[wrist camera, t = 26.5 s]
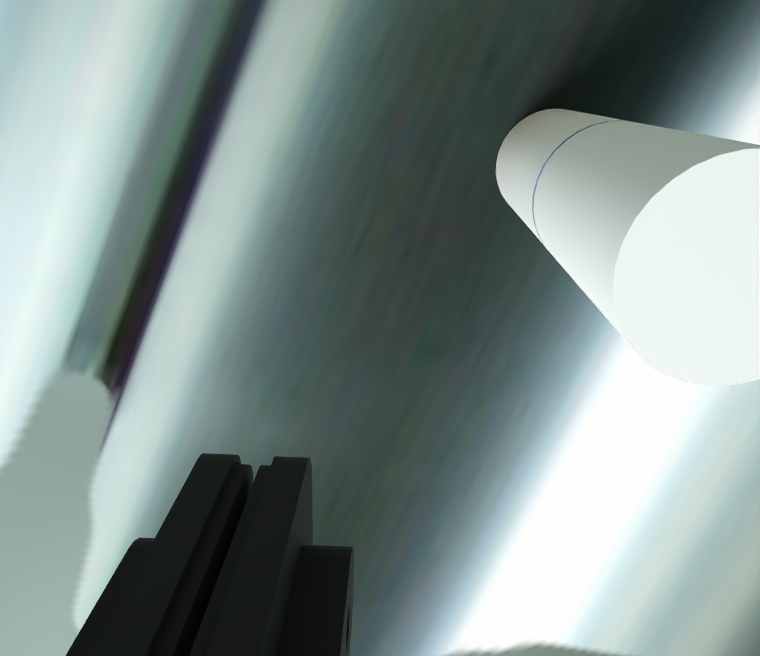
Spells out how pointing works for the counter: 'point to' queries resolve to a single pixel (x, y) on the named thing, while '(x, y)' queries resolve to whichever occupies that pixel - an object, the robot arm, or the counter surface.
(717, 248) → the cylindrical container
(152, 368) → the counter surface
